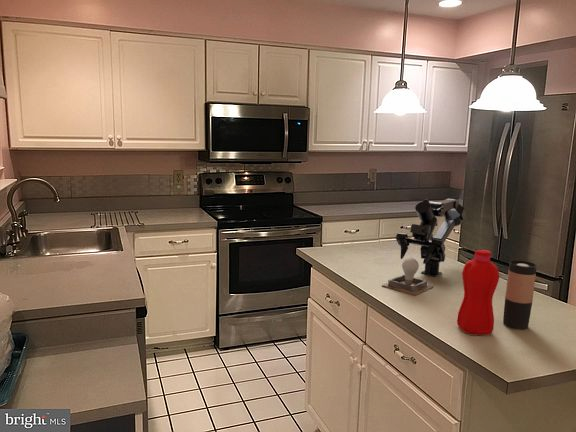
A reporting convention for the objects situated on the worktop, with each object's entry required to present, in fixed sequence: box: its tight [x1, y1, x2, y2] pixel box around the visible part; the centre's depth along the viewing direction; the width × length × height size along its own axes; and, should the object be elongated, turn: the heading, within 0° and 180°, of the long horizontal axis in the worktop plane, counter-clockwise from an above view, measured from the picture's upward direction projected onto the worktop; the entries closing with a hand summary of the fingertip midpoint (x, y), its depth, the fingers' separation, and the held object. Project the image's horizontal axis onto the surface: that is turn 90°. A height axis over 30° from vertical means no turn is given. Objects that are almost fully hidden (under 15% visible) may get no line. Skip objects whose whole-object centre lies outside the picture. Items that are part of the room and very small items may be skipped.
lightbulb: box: [401, 257, 420, 285], centre depth 182 cm, size 6×6×11 cm
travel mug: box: [502, 259, 538, 331], centre depth 148 cm, size 8×8×20 cm
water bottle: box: [456, 249, 500, 336], centre depth 144 cm, size 9×11×25 cm
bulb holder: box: [381, 274, 434, 297], centre depth 183 cm, size 14×14×2 cm
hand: (412, 260), depth 184 cm, fingers open, 9 cm apart
